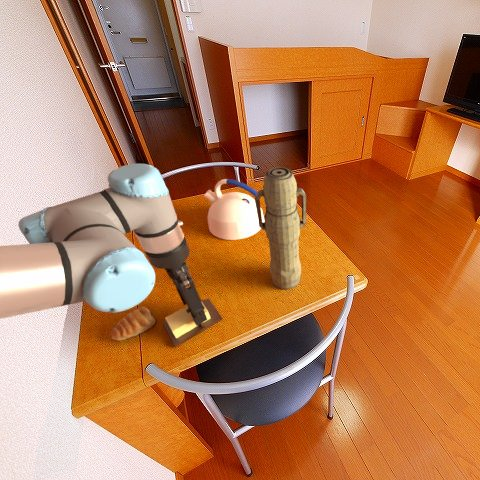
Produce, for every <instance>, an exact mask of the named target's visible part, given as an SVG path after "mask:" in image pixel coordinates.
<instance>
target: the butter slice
mask: <svg viewBox="0 0 480 480" xmlns="http://www.w3.org/2000/svg"><path fill="white" fill-rule="evenodd" d="M202 304H203V303H202ZM203 306H204V305H203ZM204 308H205V306H204ZM204 312H205V315H206V317H207V320H209V319H211V318H210V315H209V313H208V311H207V309H206V308H205V309H204ZM207 320H206V321H207ZM204 322H205V321H204ZM204 322H203V323H204Z"/></svg>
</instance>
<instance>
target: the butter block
mask: <svg viewBox="0 0 480 480" xmlns="http://www.w3.org/2000/svg"><path fill="white" fill-rule="evenodd" d="M187 309H188V306H187V305H185V306H184V307H182V308H180V309H179V310H176V311H174V312H173V313H171V314H169V315H167V316H166V317H165V318H164V319H165V321H167V323H168V324H169V326H170V328H171V330H172V332H173V334H174V336H175V337H176V338H178V337H180V336H181V335H183V334H185V333H186V332H188V331H190V330H192V329H193V328H195V327H197V326H198V325H197V326H196V324H195V322H194V320H193V317H192V315H191V313H187V311H186V310H187ZM199 325H200V324H199Z"/></svg>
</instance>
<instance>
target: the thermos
mask: <svg viewBox="0 0 480 480" xmlns="http://www.w3.org/2000/svg"><path fill="white" fill-rule="evenodd" d="M297 184H298V183H297V180H296V178H295V176H294V173H293V171H292V170H291V169H289V168H286V167H283V166H276V167H272V168H270V169H268V170H267V171H266V172H265V174H264V178H263V185H262V189H259V190H258V191H257V192H258V193H257V194H256V196H254V199H255V204H256V209H257V215H258V220H259V227H260V228H261V229H260V230H263V231H264V232H265V235H266V238H267V239H268V246H269V255H270V261H269V272H270V277H271V283H272V284H273V286H274V287H276V288H277V289H280V290H284V291H285V290H286V291H288V290H292V289H294V288H296V287H297V286H298V285H299V284H300V283H301V279H302V278H301V277H302V276H301V275H302V264H301V260H300V251H299V250H300V248H299V247H300V244H299V243H300V242H299V239H300V236H301V230H302V227H306V225H307V194H306V192H305V191H304V189H303V188H302V187H298V186H297ZM300 195H301V215H300V213H299V211H298V197H299V196H300ZM261 197H263V198H264V199H263V200H264V204H265V205H264V206H265V213H264V222H262V215H261V209H262V206H261V201H260V200H261Z"/></svg>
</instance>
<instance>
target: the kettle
mask: <svg viewBox="0 0 480 480" xmlns="http://www.w3.org/2000/svg"><path fill="white" fill-rule="evenodd" d="M225 184H227V185H232V186H235V187H238V188H241V189H243V190H245V191H246V192H248V193H250V194H251V195H252V196H253V197H255V196H256V194H257V193H258V191H257V190H256V189H255V188H253V187H251V186H249V185H248V184H247V183H244V182H242V181H238V180H235V179H232V178H231V179H230V178H224V179H223V178H222V179H221V180H219V181H217V183H216V184H215V185H214V191H212V190H211V189H208V190H206V192H205V193H204V195H203V197H204V198H205V199H206V200H207V201H209V202H210V203H211V205H210V206H209V208H208V213H207V224H208V230H209V232H210V233H211V234H212V235H213V236H214V237H217V238H218V239H222V240H226V241H227V240H228V241H236V240H243V239H246V238H249V237H252V236H254V235H255V234H257V233H259V231H261V230H262V229H261V228H260V227H259V220H258V215H257V209H256V204H255V198H253V197H252V196H251V195H249V194H246V193H244V192H240V191H231V192H226V193H223V194H222V191H221V186H222V185H225ZM261 215H262V222H265V221H264V217H265V215H264V212H263V209H262V208H261Z"/></svg>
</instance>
